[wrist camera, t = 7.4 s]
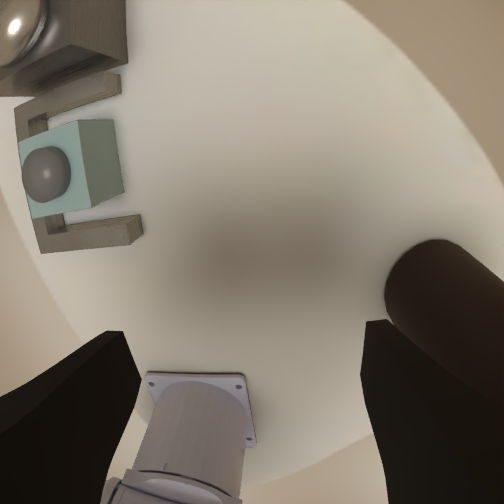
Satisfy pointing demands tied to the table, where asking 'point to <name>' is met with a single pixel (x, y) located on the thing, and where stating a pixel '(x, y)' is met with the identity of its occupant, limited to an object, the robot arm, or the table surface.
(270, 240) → the table surface
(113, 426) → the robot arm
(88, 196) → the pale blue block
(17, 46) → the motor mount
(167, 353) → the table surface
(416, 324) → the bottle
